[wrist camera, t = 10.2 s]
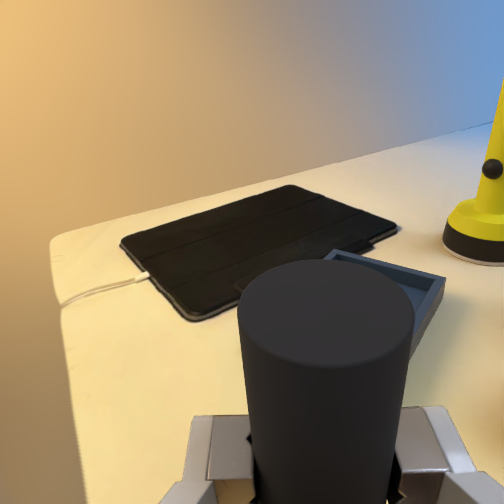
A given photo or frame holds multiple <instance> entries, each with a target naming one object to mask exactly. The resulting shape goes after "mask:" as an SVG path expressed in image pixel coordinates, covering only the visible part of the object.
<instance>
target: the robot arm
mask: <svg viewBox="0 0 504 504" xmlns="http://www.w3.org/2000/svg"><path fill="white" fill-rule="evenodd" d="M387 500H388V504H504V487H503V486H502V485H500V484H499V483H498V482H497V481H495V480H494V479H493V478H492V477H491V476H489V475H488V474H487V473H486V472H484V471H477V470H476V468H475V466H474V464H473V462H472V459H471V457H470V455H469V453H468V451H467V449H466V447H465V445H464V443H463V441H462V439H461V437H460V435H459V433H458V431H457V429H456V427H455V425H454V423H453V421H452V419H451V417H450V415H449V413H448V411H447V410H446V409H445V408H444V407H443V406H428V407H419V406H416V407H401V413H400V419H399V425H398V432H397V438H396V444H395V450H394V457H393V463H392V469H391V475H390V482H389V488H388V494H387ZM158 504H259V495H258V486H257V479H256V469H255V460H254V452H253V446H252V438H251V430H250V421H249V415H203V416H194V417H193V420H192V422H191V428H190V434H189V441H188V447H187V453H186V459H185V465H184V471H183V477H182V481H178V482H175V483H174V484H173V486H172V487H171V488H170V489H169V491H168V492H167V493H166V494H165V496H164V497H163V498H162V499H161V501H160V502H159V503H158Z"/></svg>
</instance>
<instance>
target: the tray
mask: <svg viewBox="0 0 504 504" xmlns="http://www.w3.org/2000/svg"><path fill="white" fill-rule="evenodd" d="M324 259H327V260H339V261H346V262H351V263H355V264H359V265H363V266H366V267H368V268H371V269H373V270H376V271H378V272H380V273H382V274H384V275H385V276H387V277H389V278H390V279H392V280H393V281H394V282H396V283H397V284H398V285H399V286H400V287H401V288H402V289H403V290H404V291H405V293H406V294H407V295H408V297H409V299H410V300H411V303H412V306H413V308H414V313H415V325H414V331H413V338H412V344H411V350H410V356H409V360H410V359H411V357H412V355H413V353H414V351H415V349H416V347H417V345H418V344H419V342H420V340H421V338H422V336H423V334H424V332H425V330H426V329H427V327H428V325H429V323H430V321H431V319H432V317H433V315H434V314H435V312H436V310H437V308H438V306H439V304H440V302H441V301H442V298H443V293H444V288H445V282H446V278H445V277H442V276H438V275H434V274H430V273H426V272H422V271H418V270H414V269H410V268H406V267H403V266H399V265H395V264H391V263H387V262H383V261H379V260H375V259H371V258H368V257H364V256H360V255H356V254H352V253H348V252H344V251H340V250H336V249H333V250H332V251H331V252H330V253H329V254H328V255H327V256H326V257H325V258H324Z"/></svg>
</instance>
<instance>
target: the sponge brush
mask: <svg viewBox="0 0 504 504" xmlns="http://www.w3.org/2000/svg"><path fill="white" fill-rule="evenodd" d="M237 317H238V326H239V335H240V343H241V352H242V361H243V369H244V378H245V386H246V395H247V404H248V412H249V421H250V430H251V438H252V446H253V452H254V460H255V469H256V479H257V486H258V495H259V504H386V500H387V494H388V488H389V482H390V475H391V469H392V463H393V457H394V450H395V444H396V438H397V432H398V425H399V419H400V413H401V407H402V400H403V394H404V388H405V381H406V375H407V369H408V363H409V356H410V350H411V344H412V338H413V331H414V325H415V313H414V308H413V306H412V303H411V300H410V299H409V297H408V295H407V294H406V293H405V291H404V290H403V289H402V288H401V287H400V286H399V285H398V284H397V283H396V282H394V281H393V280H392V279H390V278H389V277H387V276H385V275H384V274H382V273H380V272H378V271H376V270H373V269H371V268H368V267H366V266H363V265H359V264H355V263H351V262H346V261H339V260H327V259H314V260H303V261H296V262H292V263H287V264H284V265H281V266H278V267H275V268H273V269H270V270H268V271H266V272H264V273H263V274H261V275H260V276H258V277H257V278H255V279H254V280H253V281H252V282H251V283H250V284H249V285H248V286H247V287H246V288H245V290H244V291H243V293H242V295H241V297H240V300H239V303H238V307H237Z"/></svg>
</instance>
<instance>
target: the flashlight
mask: <svg viewBox="0 0 504 504" xmlns="http://www.w3.org/2000/svg"><path fill="white" fill-rule="evenodd" d="M442 245H443V247H444V248H445V250H446V251H448V252H449V253H450V254H452V255H454V256H456V257H458V258H460V259H462V260H465V261H468V262H472V263H476V264H481V265H489V266H504V79H503V84H502V88H501V92H500V97H499V102H498V105H497V110H496V114H495V118H494V122H493V127H492V131H491V135H490V140H489V144H488V148H487V153H486V157H485V161H484V164H483V167H482V174H481V179H480V183H479V187H478V192H477V196H476V199H469V200H465V201H462V202H460V203H459V204H458V205H457V206H456V207H455V209H454V210H453V211H452V213H451V214H450V215H449V217H448V219H447V223H446V226H445V230H444V233H443V237H442Z"/></svg>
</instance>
